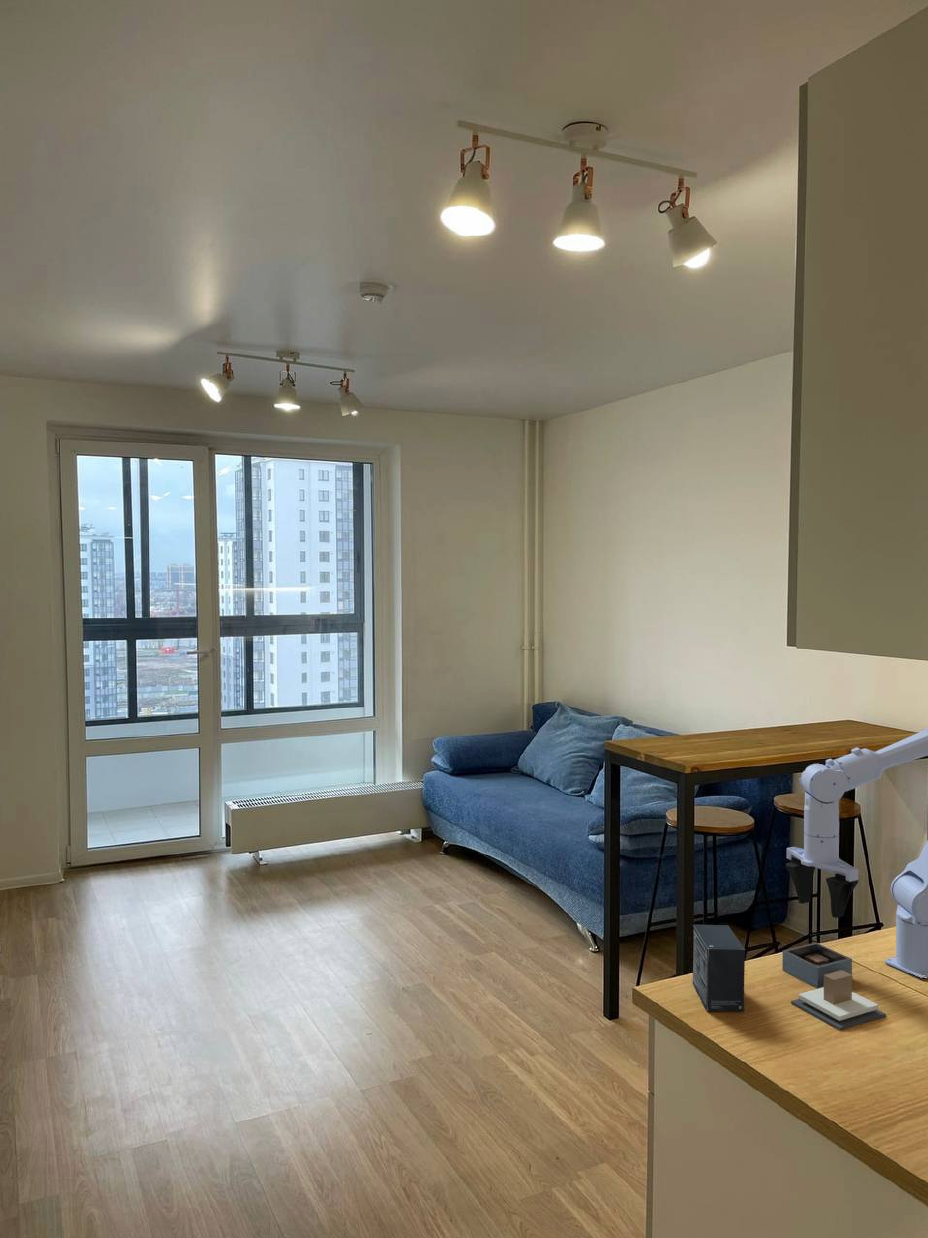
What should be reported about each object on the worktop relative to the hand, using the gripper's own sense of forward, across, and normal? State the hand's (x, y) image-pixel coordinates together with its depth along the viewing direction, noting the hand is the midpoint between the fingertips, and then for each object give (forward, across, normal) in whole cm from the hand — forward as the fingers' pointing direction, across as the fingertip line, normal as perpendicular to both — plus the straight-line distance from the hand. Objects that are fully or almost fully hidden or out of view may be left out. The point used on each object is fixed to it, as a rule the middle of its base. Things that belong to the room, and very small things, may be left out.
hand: (820, 909), depth 163 cm
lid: (+10, +13, -10) cm, 19 cm away
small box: (+11, +1, -24) cm, 26 cm away
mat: (+10, +13, -10) cm, 19 cm away
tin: (+10, +2, -3) cm, 11 cm away
